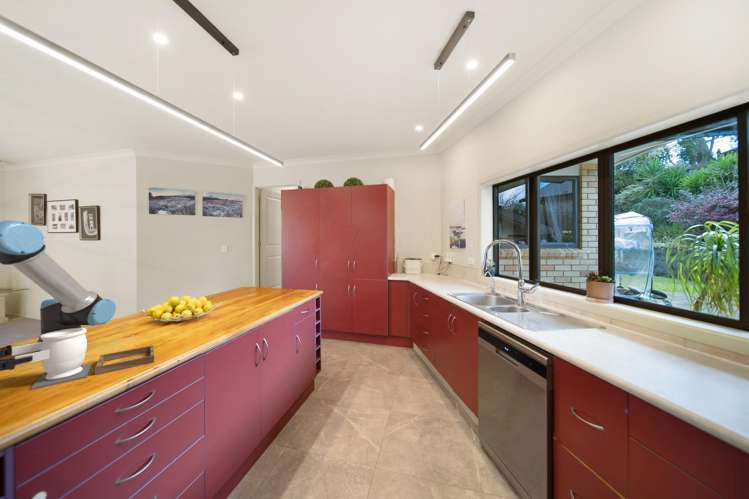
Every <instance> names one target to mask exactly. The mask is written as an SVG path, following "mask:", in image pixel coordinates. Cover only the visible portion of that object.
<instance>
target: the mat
mask: <svg viewBox="0 0 749 499" xmlns="http://www.w3.org/2000/svg"><path fill="white" fill-rule="evenodd" d="M92 366H93V362H90V363H85V364H82V365H81V367H82V368H83V370H82V371H81V372H79V373H77V374H75V375H72V376H69V377H65V378H61V379H55V380H47V379H45V377H46V375H47V374H48V373H46V372H45V371H44V372H42V374H41V375H40V376H39V377H38V378H37V380H36V381H35V382H34V384H32V385H31V387H30V390H31V391H32V390H36V389H40V388H46V387H50V386H55V385H58V384H62V383H63V384H64V383H68V382H73V381H76V380H82V379H85V378H88V375H89V374H90V371H91V369H92Z"/></svg>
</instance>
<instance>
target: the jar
mask: <svg viewBox="0 0 749 499" xmlns="http://www.w3.org/2000/svg"><path fill="white" fill-rule="evenodd" d="M87 330H88V329H87V328H86V327H81V328H74V329H65V330H60V331H55V332H50V333H47V334H44V335H41V339H42V340H43V343H42V345H41V351H45V350H49V359H45V360H40V361H41V363H42V368H43V370H44V372H46V373H48V374H47V375H46V377H45V379H47V380H55V379H61V378H65V377H69V376H72V375H75V374H77V373H79V372H81V371H82V370H83V368H82V367H81V365H83V362H84V361H85V358H86V353H87V350H88V349H87V348H88V341H87V335H86V333H87Z"/></svg>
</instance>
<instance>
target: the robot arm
mask: <svg viewBox="0 0 749 499" xmlns="http://www.w3.org/2000/svg"><path fill="white" fill-rule="evenodd" d="M44 239H45V236H44V233H43V232H42V230H40V229H39V228H38V227H37V226H35V225H33V224H31V223H28V222H25V221H19V220H14V219H13V220H11V219H1V220H0V264H1V265H3V266H12V267H14V268H15V269H17V270H18V271H19V272H20V273H21V274H23V275H24V276H25V277H27V278H28V279H29V280H30V281H31V282H33V283H34V284H35V285H37V286H38V287H39V288H41V289H42V290H43V291H44V292H46V293H47V294H48V295H49V296H50V297H52V298H50V299H45V300H42V301H41V303H40V307H39V308H40V309H39V312H40V313H39V314H40V333H39V334H40V335H39V337H38V338H37V341H36V342H35V343H34V342H33V343H29V344H23V345H17V346H12V344H9V345H6V346H3V347H0V371H7V370H9V371H11V370H15V369H16V367H17V366H22V365H25V364H26V365H27V364H30V363H35V362H40V361H41V360H45V359H49V350H45V351H41V345H42V343H43V340H42V339H41V335H44V334H47V333H50V332H55V331H60V330H65V329H74V328H82V326H86V327H88V326H89V327H90V326H91V327H94V326H102V325H105V324H107V323H108V322H109V321H111V320H112V319H113V317H114V316H115V313H116V311H117V310H116V309H117V304H116V303H115V301H114V300H112V299H110V298H102V297H101V296H100V295H99V294H98V293H97V292H95V291H93V290H87V289H86V288H85V287H84V286H83V285H81V284H80V283H79V282H78V281H77V280H76V279H75V278H74V277H72V276H71V274H69V273H68V272H67V271H66V270H65V269H64V268H63V267H62V266H61V265H59V264H58V263H57V262H56V261H55V260H54V258H52V257H51V256H49V254H47V253H46V252H45V251H46V249H47V246H46V244H45V240H44ZM9 356H12V357H10V358H6V357H9ZM13 356H14V357H13Z"/></svg>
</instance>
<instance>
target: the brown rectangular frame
mask: <svg viewBox="0 0 749 499" xmlns="http://www.w3.org/2000/svg"><path fill="white" fill-rule="evenodd" d="M154 349H155V348H154V345H148V346H144V347H143V346H142V347H136V348H132V349H126V350H120V351H118V352H116V351H114V352H110V353H106V354H100V355H99V358H98V361H97V363H96V366H95V368H94V370H95V373H94V374H95V376H98V375H101V374H106V373H111V372H116V371H119V370H120V371H121V370H126V369H130V368H134V367H139V366H143V365H147V364H152V363H155V350H154ZM143 354H149V355H148V356H142V357H138V358H134V359H130V360H128V359H127V360H124V361H120V362H114V363H110V364H104V363H105V362H108V361H113V360H114V361H115V360H119V359H123V358H124V359H125V358H129V357H133V356H139V355H143Z"/></svg>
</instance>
